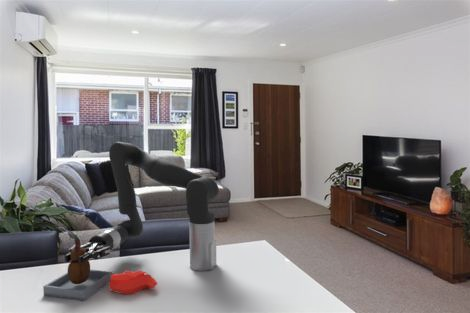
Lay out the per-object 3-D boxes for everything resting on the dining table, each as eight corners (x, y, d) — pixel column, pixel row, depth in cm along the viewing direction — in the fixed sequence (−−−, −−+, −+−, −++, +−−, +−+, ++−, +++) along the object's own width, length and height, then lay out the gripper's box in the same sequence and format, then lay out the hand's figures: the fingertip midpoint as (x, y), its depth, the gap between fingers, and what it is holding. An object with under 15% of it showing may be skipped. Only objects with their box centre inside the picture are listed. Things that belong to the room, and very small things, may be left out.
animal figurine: (156, 296, 108) (155, 281, 108) (106, 298, 107) (106, 282, 107) (161, 280, 120) (161, 265, 119) (116, 281, 119) (116, 266, 118)
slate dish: (112, 280, 119) (112, 271, 119) (84, 301, 105) (83, 291, 105) (75, 276, 123) (75, 267, 122) (43, 295, 109) (43, 286, 108)
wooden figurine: (81, 287, 110) (78, 240, 108) (65, 285, 111) (62, 239, 110) (93, 278, 116) (91, 234, 115) (78, 276, 118) (76, 233, 116)
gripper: (87, 230, 128) (52, 246, 112) (122, 233, 125) (91, 250, 108) (88, 250, 129) (54, 269, 112) (123, 253, 125) (92, 273, 109)
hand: (72, 259), depth 110 cm, fingers closed on wooden figurine, 4 cm apart
